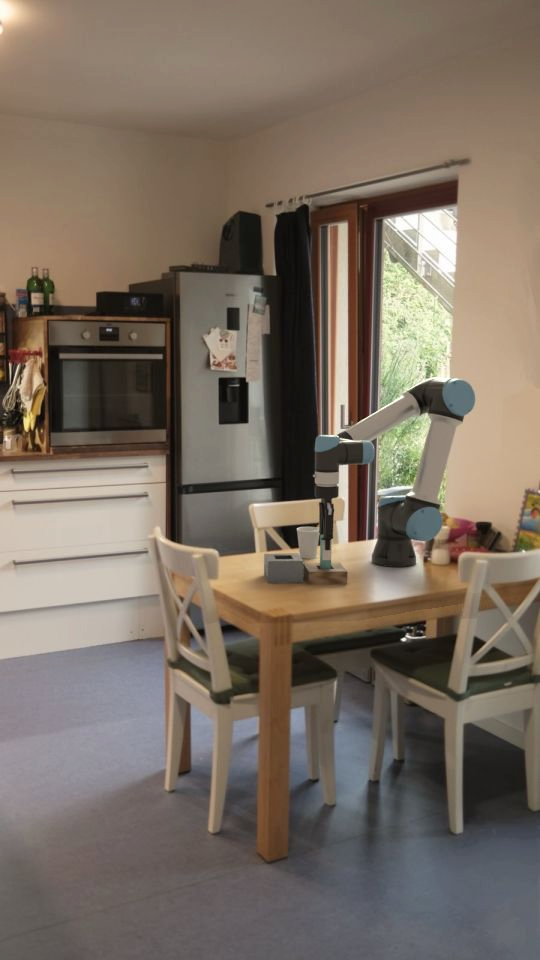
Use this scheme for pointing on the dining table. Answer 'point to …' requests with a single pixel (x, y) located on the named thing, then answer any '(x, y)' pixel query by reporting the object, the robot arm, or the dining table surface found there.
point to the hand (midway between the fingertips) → (325, 558)
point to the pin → (323, 563)
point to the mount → (324, 574)
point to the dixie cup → (308, 541)
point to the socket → (283, 568)
